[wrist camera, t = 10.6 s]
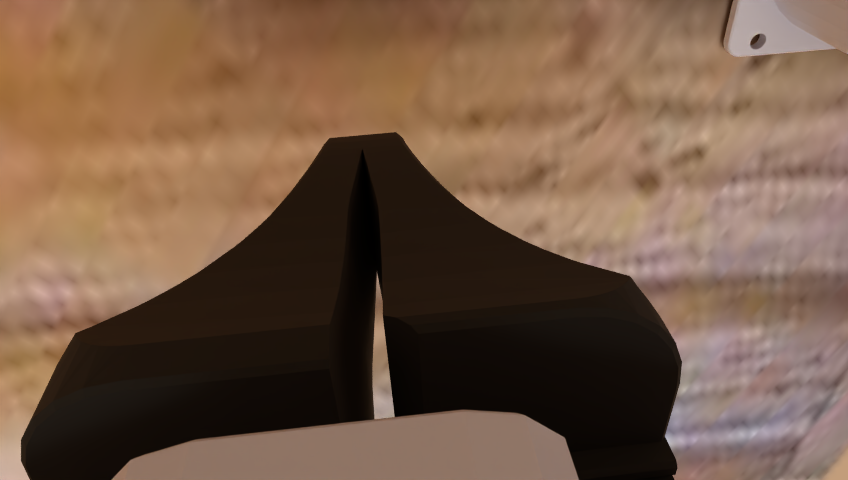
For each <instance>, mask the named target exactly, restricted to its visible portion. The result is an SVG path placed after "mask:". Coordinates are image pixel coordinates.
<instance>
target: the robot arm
mask: <svg viewBox="0 0 848 480" xmlns="http://www.w3.org/2000/svg"><path fill="white" fill-rule="evenodd" d="M757 34H760V37H759V39H758V41H757V42H756V43H755V44H753V45H750V42H751V40H752V38H753V37H754V36H755V35H757ZM724 48H725V50H726V51H727V52H728V53H730V54H731V55H733V56H735V57H745V56H757V55H769V54H780V53H792V52H804V51H816V50H828V49H838V50H840V51H842V52H844V53H846V54H847V55H848V0H733V3H732V7H731V12H730V16H729V20H728V24H727V29H726V33H725V37H724ZM377 274H378V279H379V284H380V289H381V294H382V300H383V320H384V329H385V337H386V346H387V354H388V363H389V371H390V380H391V388H392V397H393V405H394V414H395V417H392V418H383V419H374V405H373V388H372V361H373V340H374V320H375V300H376V278H377ZM681 366H682V361H681V358H680V355H679V352H678V349H677V346H676V343H675V341H674V339H673V338H672V336H671V334H670V332H669V331H668V329H667V327H666V326H665V324H664V322H663V321H662V319H661V317H660V316H659V314H658V313H657V312H656V310H655V309H654V307H653V306H652V304H651V303H650V301H649V300H648V299H647V298H646V296H645V295H644V294H643V293H642V291H641V290H640V289H639V288H638V287H637V285H636V284H635V282H634V281H633V279H632V278H631V277H630V276H627V275H624V274H620V273H616V272H613V271H609V270H605V269H602V268H598V267H594V266H591V265H587V264H583V263H580V262H577V261H574V260H571V259H568V258H565V257H563V256H560V255H557V254H555V253H552V252H549V251H547V250H544V249H542V248H539V247H537V246H535V245H532V244H530V243H528V242H526V241H523V240H522V239H520V238H518V237H516V236H514V235H512V234H510V233H508V232H506V231H504V230H502V229H500V228H499V227H497V226H495V225H493V224H492V223H490V222H488V221H487V220H485V219H484V218H482V217H481V216H479V215H478V214H476V213H475V212H473V211H472V210H470V209H469V208H467V207H466V206H465V205H464V204H462V203H461V202H460V201H459V200H458V199H456V198H455V197H454V196H453V195H452V194H451V193H450V192H448V191H447V190H446V189H445V188H444V187H443V186H442V185H441V184H440V183H439V182H438V181H437V180H436V179H435V178H434V177H433V176H432V175H431V174H430V173H429V171H428V170H427V169H426V168H425V167H424V166H423V165H422V164H421V163H420V161H419V160H418V159H417V158H416V156H415V155H414V154H413V153H412V151H411V150H410V149H409V147H408V146H407V144H406V143H405V141H404V140H403V138H402V137H401V136H400V135H399V134H398V133H396V132H394V133H383V134H371V135H360V136H349V137H337V138H329V139H328V141H327V142H326V143H325V144H324V146H323V147H322V149H321V150H320V152H319V153H318V155H317V156H316V158H315V159H314V161H313V162H312V164H311V165H310V167H309V168H308V170H307V171H306V172H305V174H304V175H303V176H302V178H301V179H300V180H299V182H298V183H297V184H296V186H295V187H294V188H293V190H292V191H291V192H290V193H289V195H288V196H287V197H286V198H285V199H284V200H283V201H282V203H281V204H280V205H279V206H278V207H277V208H276V209H275V210H274V212H273V213H272V214H271V215H270V216H269V217H268V218H267V219H266V220H265V221H264V222H263V223H262V224H261V225H260V226H259V227H258V228H256V229H255V230H254V231H253V232H252V233H251V234H249V235H248V236H247V237H246V238H245V239H244V240H243V241H241V242H240V243H239V244H238V245H236V246H235V247H234V248H232V249H231V250H229V251H228V252H227V253H225V254H224V255H222V256H221V257H220V258H218V259H217V260H215V261H214V262H212V263H211V264H210V265H208V266H207V267H205V268H204V269H203V270H201V271H200V272H198V273H197V274H195V275H193V276H192V277H190V278H188V279H187V280H185V281H183V282H182V283H180V284H178V285H177V286H175V287H173V288H171V289H169V290H167V291H166V292H164V293H162V294H160V295H158V296H156V297H155V298H153V299H151V300H149V301H147V302H145V303H143V304H141V305H139V306H137V307H135V308H132V309H130V310H128V311H126V312H123V313H121V314H119V315H117V316H114V317H112V318H110V319H108V320H106V321H103V322H101V323H99V324H97V325H94V326H92V327H90V328H87V329H85V330H82V331H80V332H77V333H75V335H74V337H73V338H72V340H71V342H70V343H69V345H68V347H67V349H66V350H65V352H64V354H63V355H62V357H61V359H60V361H59V362H58V364H57V366H56V368H55V370H54V373H53V375H52V377H51V379H50V381H49V383H48V385H47V387H46V389H45V391H44V394H43V396H42V398H41V400H40V402H39V404H38V406H37V408H36V410H35V412H34V414H33V416H32V418H31V420H30V422H29V425H28V427H27V429H26V431H25V433H24V435H23V437H22V439H21V462H22V464H23V466H24V468H25V470H26V472H27V475H28V477H29V479H30V480H674V478H673V476H672V475H675V474H676V471H677V463H676V459H675V457H674V455H673V452H672V450H671V448H670V446H669V444H668V442H667V440H666V438H665V433H666V430H667V426H668V423H669V419H670V416H671V412H672V409H673V405H674V402H675V398H676V395H677V391H678V388H679V384H680V377H681Z"/></svg>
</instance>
